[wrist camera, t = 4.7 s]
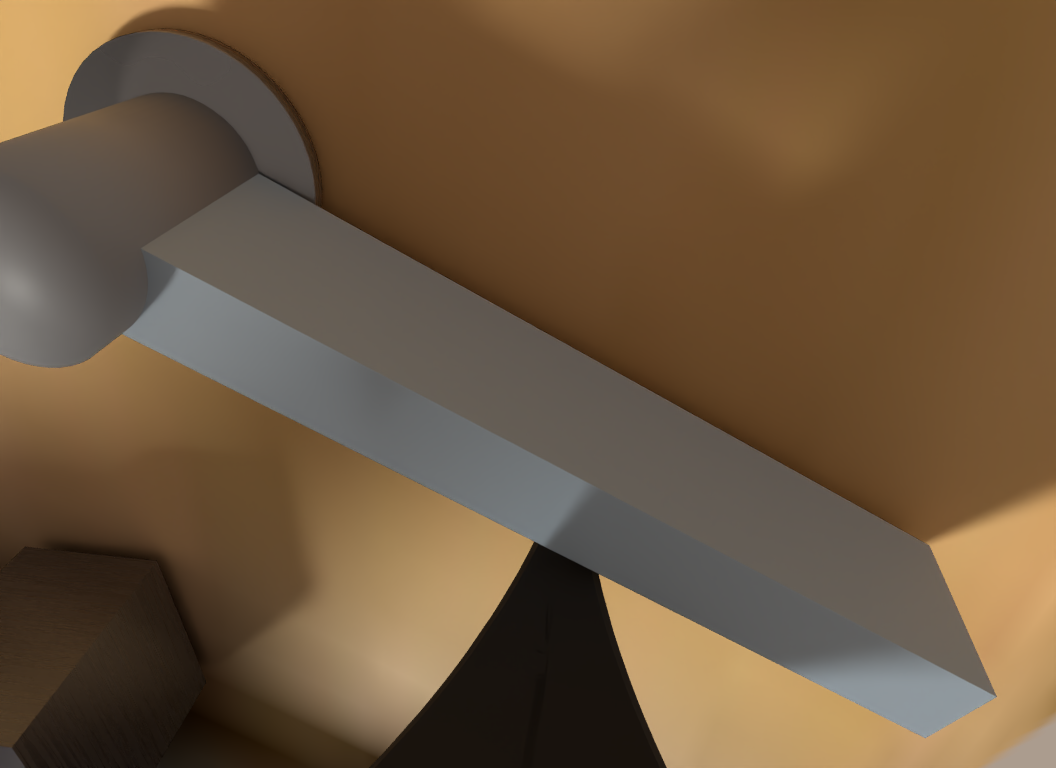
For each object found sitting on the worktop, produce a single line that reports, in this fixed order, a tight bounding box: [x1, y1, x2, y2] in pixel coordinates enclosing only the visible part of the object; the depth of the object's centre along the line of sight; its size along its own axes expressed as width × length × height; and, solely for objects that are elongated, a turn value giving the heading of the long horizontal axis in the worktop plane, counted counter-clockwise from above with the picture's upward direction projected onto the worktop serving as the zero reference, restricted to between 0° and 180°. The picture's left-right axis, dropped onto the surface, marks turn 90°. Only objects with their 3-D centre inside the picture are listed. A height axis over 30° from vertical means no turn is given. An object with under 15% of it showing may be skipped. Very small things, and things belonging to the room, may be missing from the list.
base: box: [63, 29, 322, 208], centre depth 10 cm, size 4×4×1 cm
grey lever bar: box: [0, 92, 997, 738], centre depth 9 cm, size 14×2×3 cm, turn 62°
